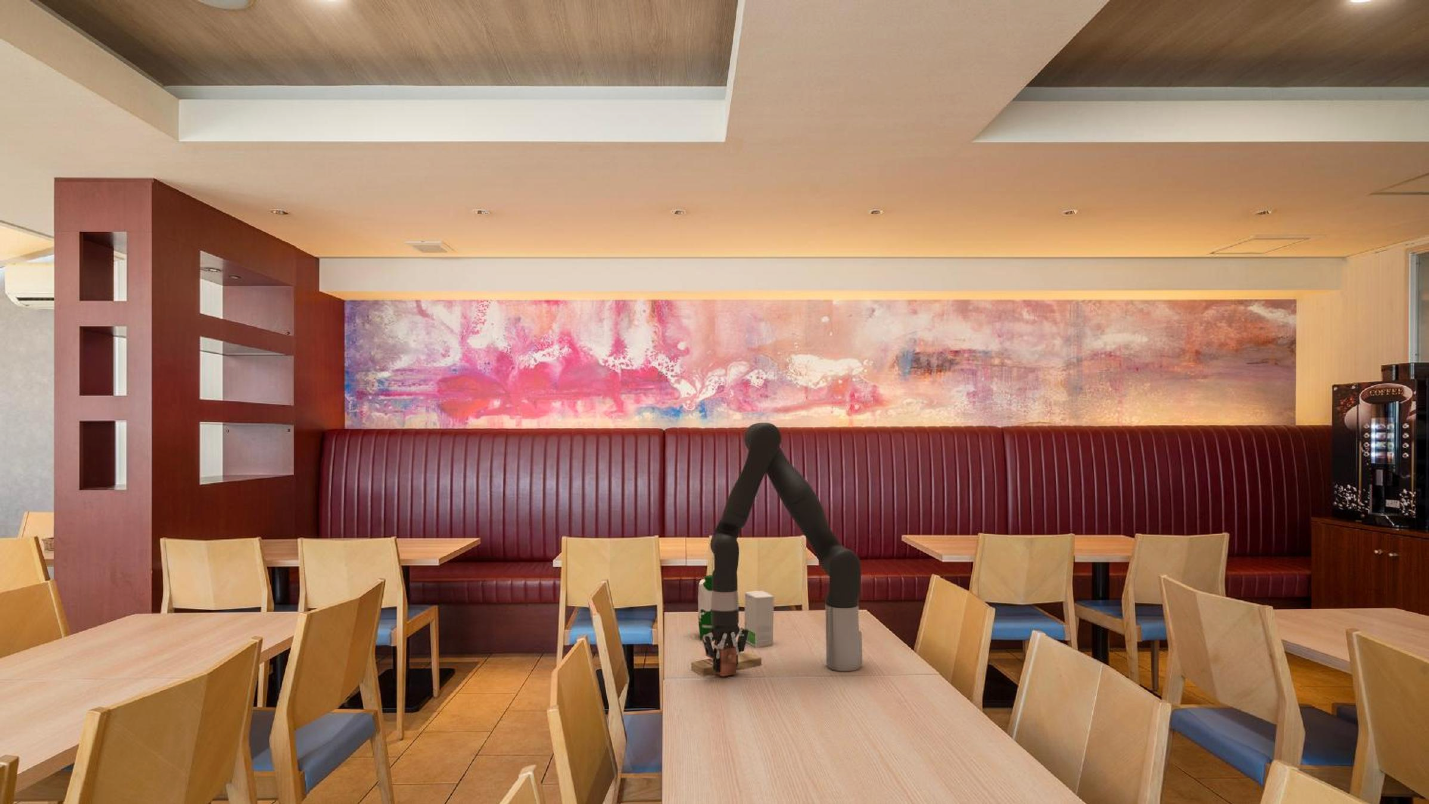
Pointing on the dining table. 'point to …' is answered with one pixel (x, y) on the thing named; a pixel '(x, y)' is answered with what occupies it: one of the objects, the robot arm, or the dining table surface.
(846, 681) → the dining table surface
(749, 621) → the skincare box
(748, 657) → the board
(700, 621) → the milk carton
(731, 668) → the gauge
